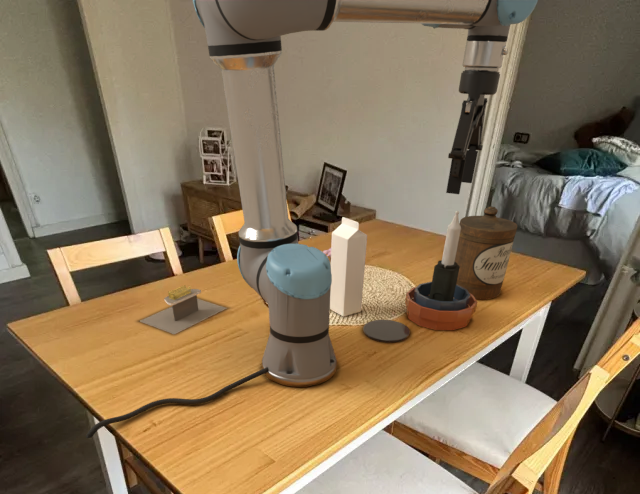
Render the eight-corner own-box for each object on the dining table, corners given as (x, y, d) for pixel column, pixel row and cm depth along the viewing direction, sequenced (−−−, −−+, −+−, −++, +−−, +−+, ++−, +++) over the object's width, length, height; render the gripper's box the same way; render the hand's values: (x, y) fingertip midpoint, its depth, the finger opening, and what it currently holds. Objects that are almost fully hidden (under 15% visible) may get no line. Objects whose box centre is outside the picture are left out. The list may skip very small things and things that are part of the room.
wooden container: (480, 304, 127) (501, 217, 114) (435, 287, 136) (450, 205, 123) (510, 291, 135) (533, 208, 122) (466, 276, 144) (483, 197, 131)
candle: (451, 315, 122) (472, 210, 106) (443, 322, 118) (464, 215, 103) (432, 310, 124) (450, 206, 109) (424, 317, 120) (442, 211, 105)
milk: (343, 317, 119) (348, 224, 106) (328, 308, 123) (331, 218, 110) (361, 311, 122) (369, 220, 109) (346, 303, 126) (351, 214, 113)
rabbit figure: (338, 255, 161) (315, 259, 149) (340, 236, 158) (317, 239, 146) (354, 258, 159) (332, 263, 147) (357, 239, 156) (335, 243, 144)
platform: (138, 321, 115) (133, 294, 111) (193, 297, 127) (189, 272, 123) (174, 334, 110) (169, 307, 106) (227, 308, 122) (224, 283, 118)
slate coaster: (380, 346, 107) (381, 344, 107) (353, 327, 115) (354, 325, 114) (419, 336, 112) (419, 334, 112) (390, 318, 119) (391, 316, 119)
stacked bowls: (434, 336, 112) (439, 310, 108) (391, 310, 123) (394, 285, 119) (486, 322, 119) (492, 297, 115) (440, 298, 130) (445, 275, 126)
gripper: (490, 70, 84) (464, 200, 97) (509, 70, 102) (486, 180, 115) (447, 69, 87) (428, 196, 100) (474, 69, 105) (455, 176, 118)
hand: (459, 187), depth 107 cm, fingers open, 13 cm apart
